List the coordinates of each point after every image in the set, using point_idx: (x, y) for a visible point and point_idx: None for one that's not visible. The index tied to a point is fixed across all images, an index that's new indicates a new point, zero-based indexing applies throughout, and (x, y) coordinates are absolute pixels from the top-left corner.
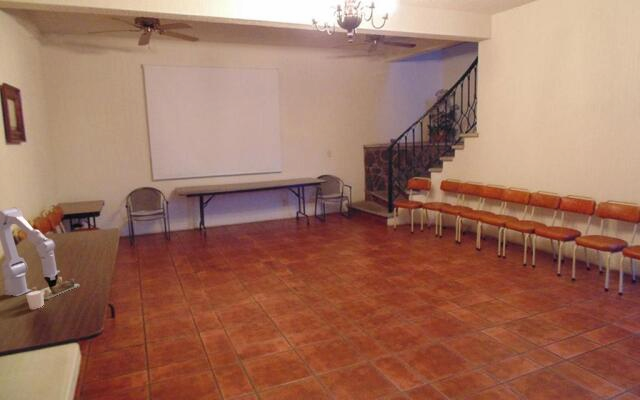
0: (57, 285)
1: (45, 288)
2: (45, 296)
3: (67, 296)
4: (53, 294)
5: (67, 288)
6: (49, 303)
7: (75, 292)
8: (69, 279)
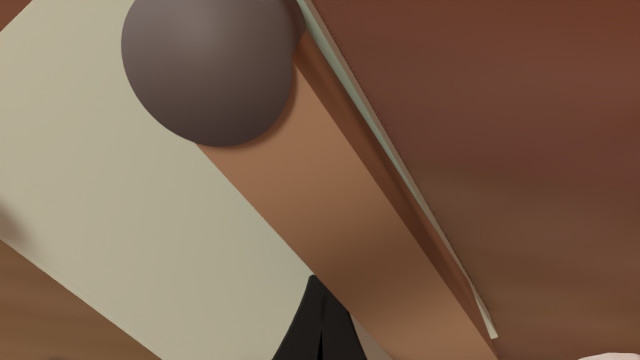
0: (409, 323)
1: (112, 311)
2: None
3: (617, 148)
4: None
5: None
6: (632, 319)
7: (552, 9)
8: (153, 95)
